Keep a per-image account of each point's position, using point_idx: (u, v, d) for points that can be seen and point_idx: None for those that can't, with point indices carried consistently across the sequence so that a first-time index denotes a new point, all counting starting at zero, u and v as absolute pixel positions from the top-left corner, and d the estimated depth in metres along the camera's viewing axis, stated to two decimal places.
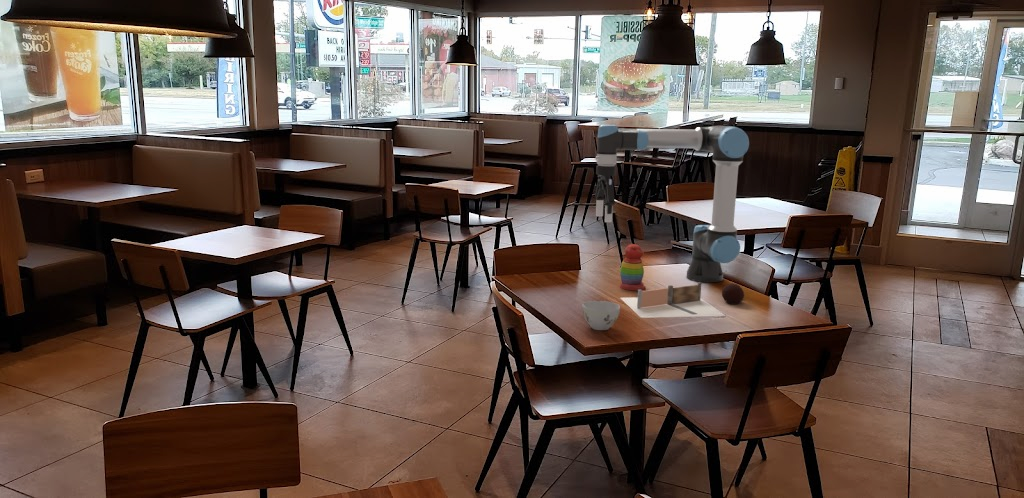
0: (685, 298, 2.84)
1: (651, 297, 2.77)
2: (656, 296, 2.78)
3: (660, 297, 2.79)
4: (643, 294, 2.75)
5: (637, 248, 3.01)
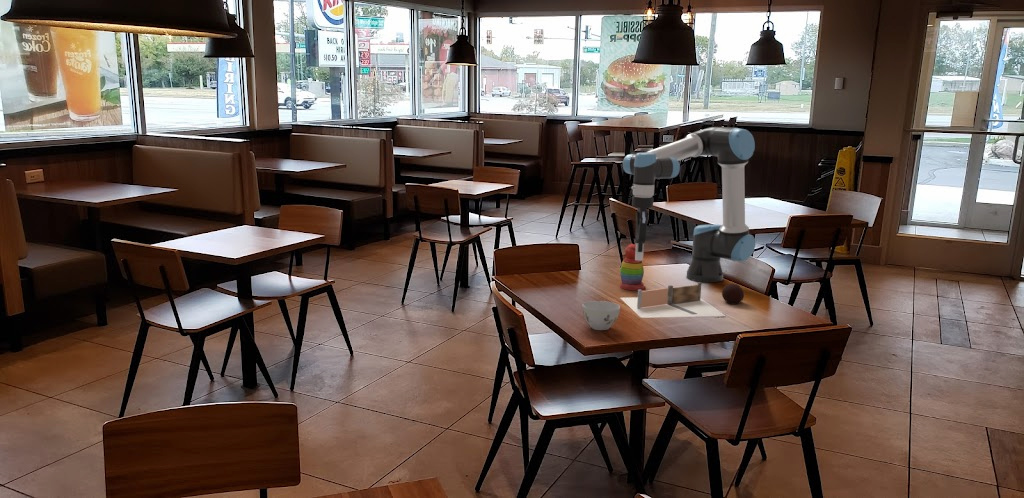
0: (685, 298, 2.84)
1: (651, 297, 2.77)
2: (656, 296, 2.78)
3: (660, 297, 2.79)
4: (643, 294, 2.75)
5: None
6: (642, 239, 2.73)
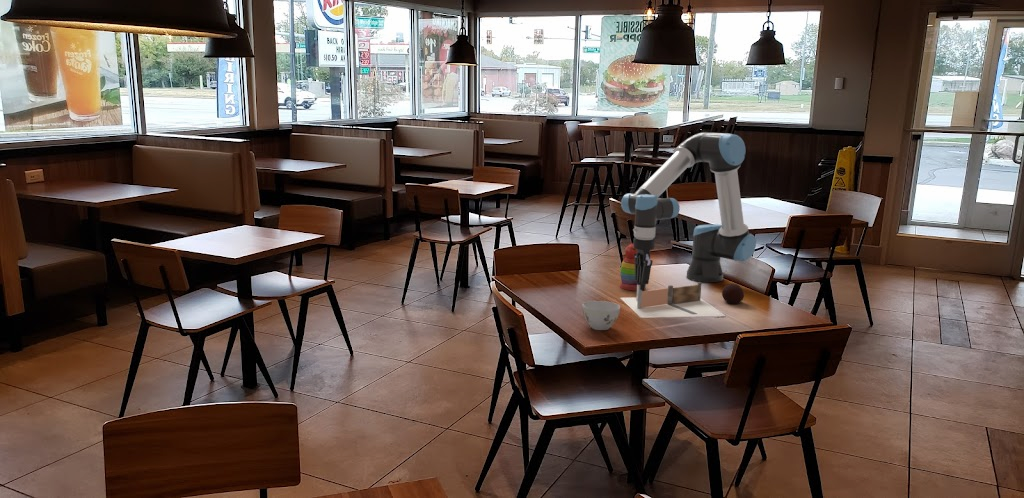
0: (685, 298, 2.84)
1: (651, 297, 2.77)
2: (656, 296, 2.78)
3: (660, 297, 2.79)
4: (643, 294, 2.74)
5: None
6: (646, 281, 2.73)
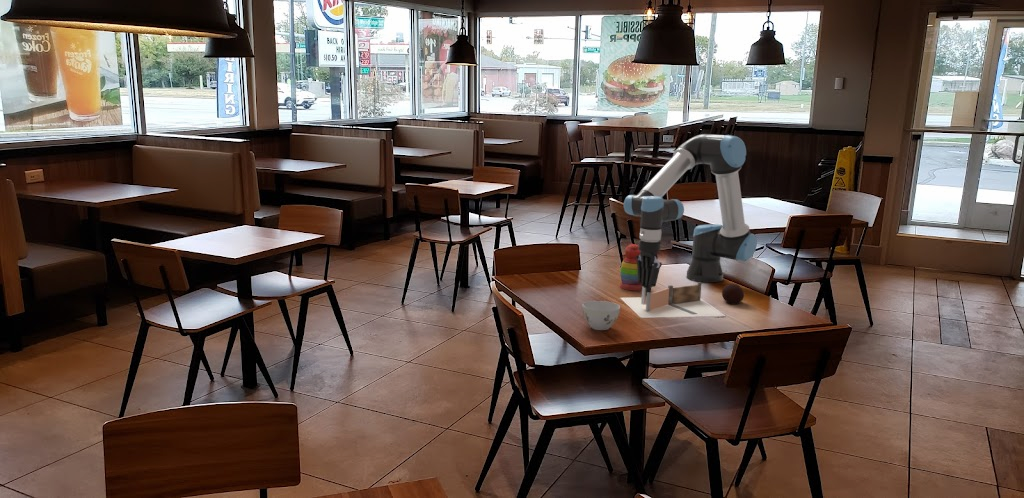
0: (685, 298, 2.84)
1: (657, 299, 2.75)
2: (660, 297, 2.76)
3: (663, 298, 2.78)
4: (651, 296, 2.72)
5: (637, 248, 3.01)
6: (653, 283, 2.70)
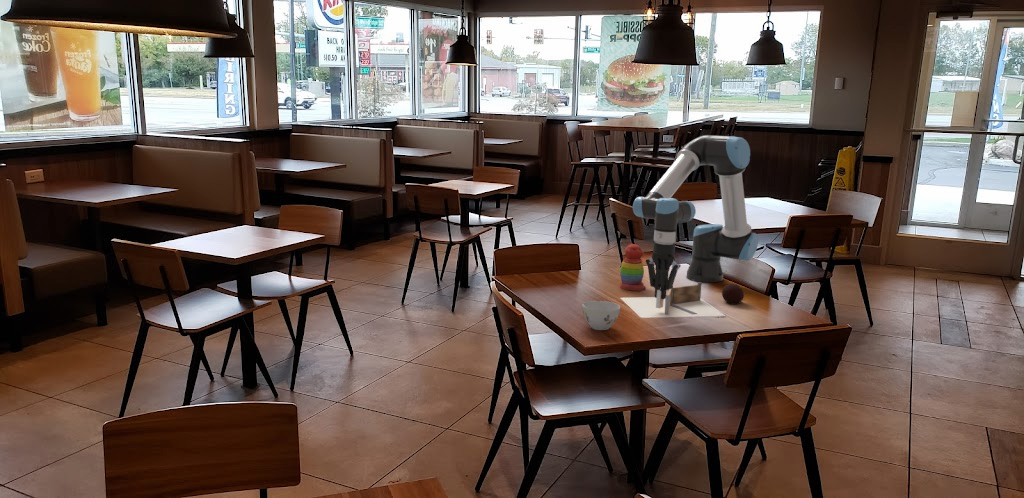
0: (685, 298, 2.84)
1: (669, 300, 2.73)
2: None
3: None
4: None
5: (637, 248, 3.01)
6: (670, 286, 2.67)
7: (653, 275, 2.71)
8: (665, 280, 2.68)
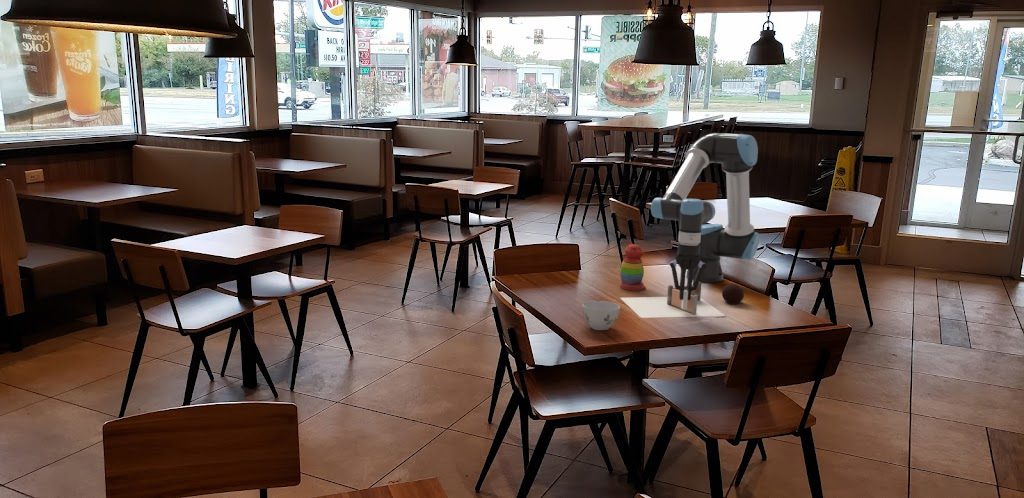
0: None
1: None
2: None
3: None
4: None
5: (637, 248, 3.01)
6: None
7: None
8: None
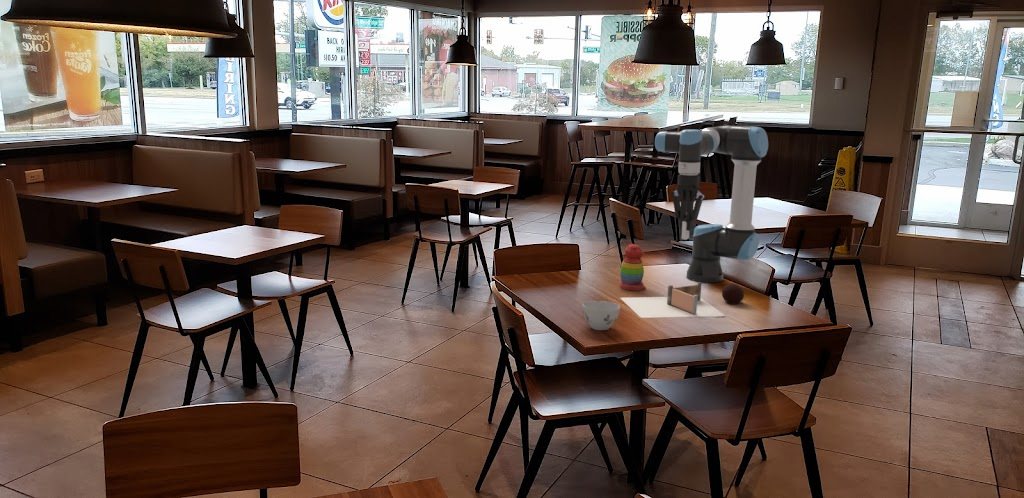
0: None
1: None
2: None
3: None
4: None
5: (637, 248, 3.01)
6: (696, 217, 2.71)
7: (678, 207, 2.75)
8: (690, 211, 2.71)
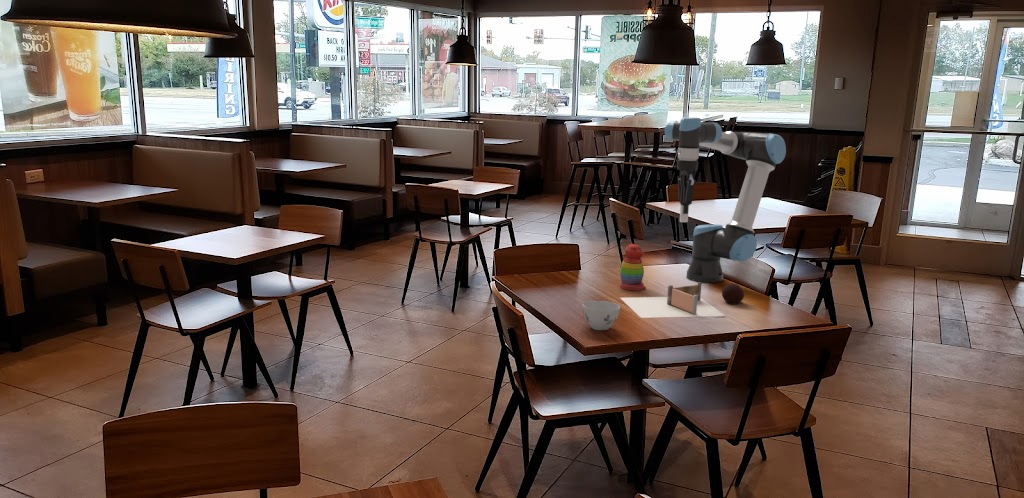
0: None
1: None
2: None
3: None
4: None
5: (637, 248, 3.01)
6: (689, 201, 2.83)
7: None
8: (685, 195, 2.85)
